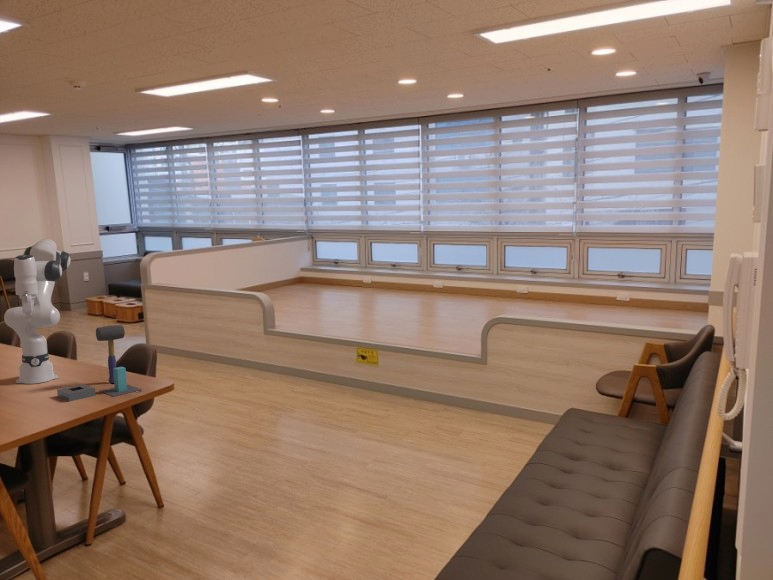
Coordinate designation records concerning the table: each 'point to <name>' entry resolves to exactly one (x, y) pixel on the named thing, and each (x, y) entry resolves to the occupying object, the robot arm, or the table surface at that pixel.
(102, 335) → the rubber mallet
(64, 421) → the table surface
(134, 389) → the pad
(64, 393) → the socket base
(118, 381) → the peg
